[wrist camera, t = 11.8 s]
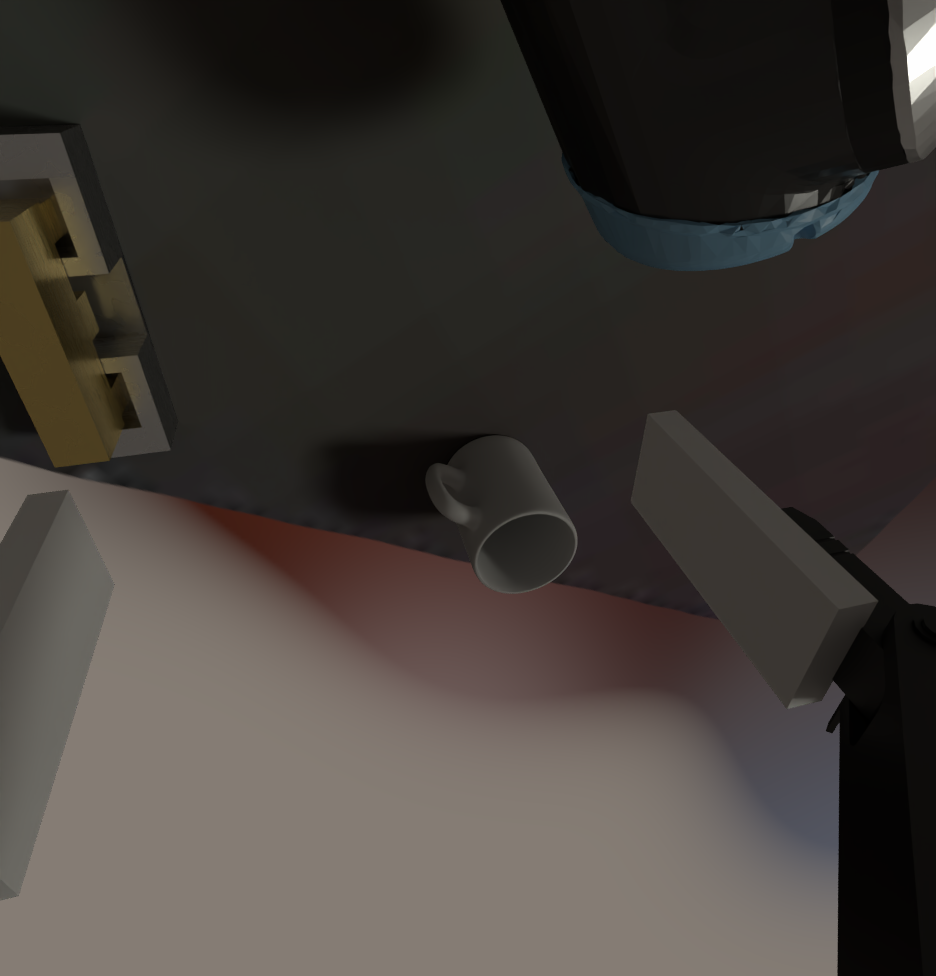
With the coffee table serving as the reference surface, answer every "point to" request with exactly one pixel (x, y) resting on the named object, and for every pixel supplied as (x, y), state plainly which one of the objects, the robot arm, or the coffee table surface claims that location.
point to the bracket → (94, 271)
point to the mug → (504, 514)
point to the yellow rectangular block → (53, 340)
